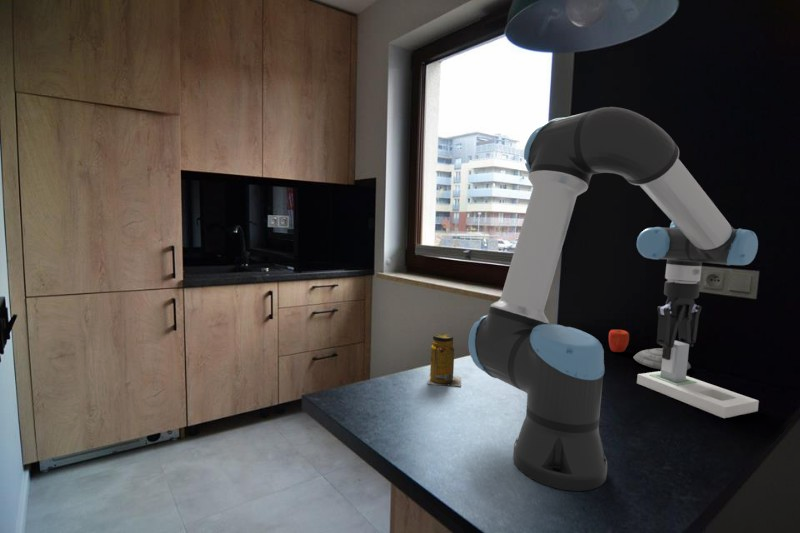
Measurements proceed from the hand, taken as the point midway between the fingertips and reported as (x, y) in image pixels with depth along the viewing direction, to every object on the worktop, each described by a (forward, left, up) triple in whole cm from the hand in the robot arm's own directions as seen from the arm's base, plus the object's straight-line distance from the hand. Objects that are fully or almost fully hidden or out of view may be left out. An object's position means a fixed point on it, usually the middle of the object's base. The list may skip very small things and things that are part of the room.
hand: (673, 370), depth 113 cm
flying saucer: (+15, +15, -5) cm, 22 cm away
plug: (0, 0, -4) cm, 4 cm away
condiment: (-55, +23, -5) cm, 60 cm away
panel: (0, -5, -5) cm, 7 cm away
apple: (+14, +30, -5) cm, 33 cm away
